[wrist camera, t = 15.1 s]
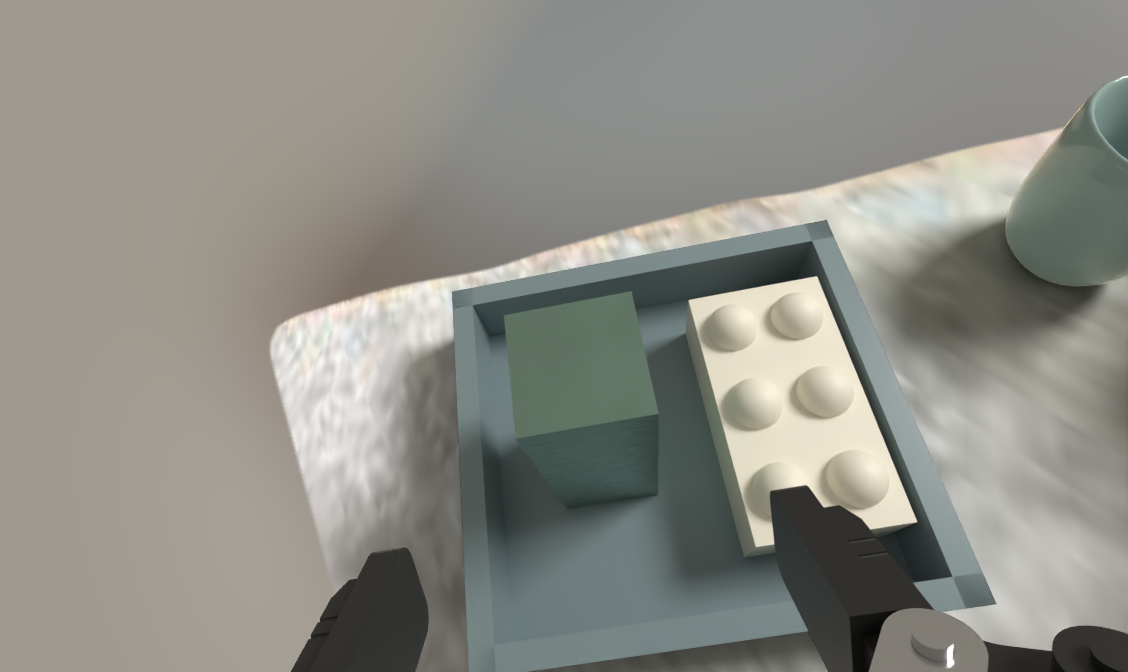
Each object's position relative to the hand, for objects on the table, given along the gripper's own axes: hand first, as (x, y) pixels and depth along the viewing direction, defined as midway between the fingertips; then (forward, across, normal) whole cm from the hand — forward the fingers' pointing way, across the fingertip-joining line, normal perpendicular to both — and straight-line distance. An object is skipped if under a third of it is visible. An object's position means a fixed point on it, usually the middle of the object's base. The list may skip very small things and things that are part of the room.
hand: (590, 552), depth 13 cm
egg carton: (+19, -10, +8) cm, 23 cm away
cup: (+25, -29, +3) cm, 39 cm away
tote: (+19, -4, +8) cm, 21 cm away
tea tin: (+18, 0, +8) cm, 20 cm away
